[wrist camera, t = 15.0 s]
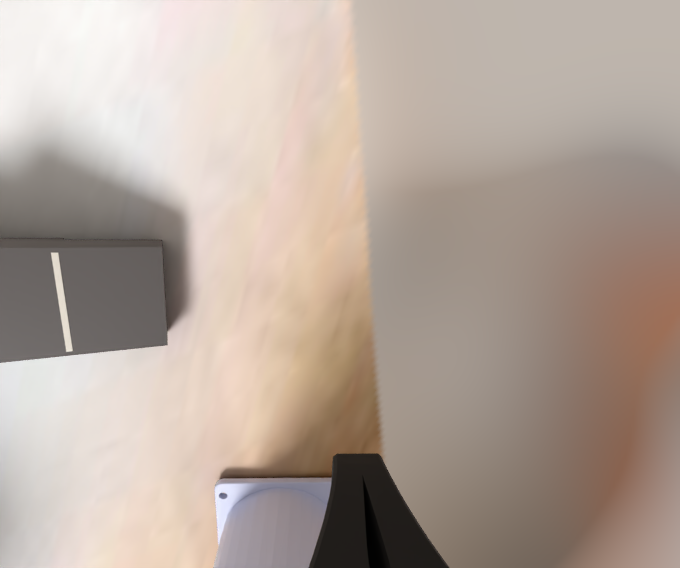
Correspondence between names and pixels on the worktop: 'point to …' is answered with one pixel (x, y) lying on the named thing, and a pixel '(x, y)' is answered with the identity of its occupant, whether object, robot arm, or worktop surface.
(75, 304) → the tile
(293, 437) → the worktop surface
